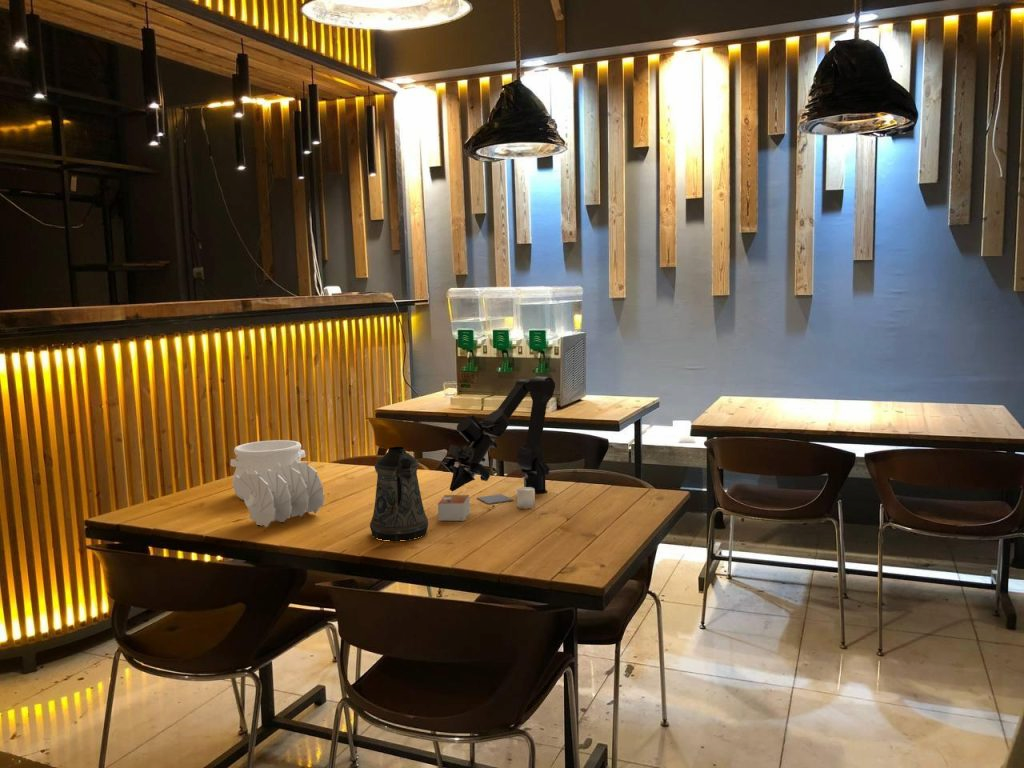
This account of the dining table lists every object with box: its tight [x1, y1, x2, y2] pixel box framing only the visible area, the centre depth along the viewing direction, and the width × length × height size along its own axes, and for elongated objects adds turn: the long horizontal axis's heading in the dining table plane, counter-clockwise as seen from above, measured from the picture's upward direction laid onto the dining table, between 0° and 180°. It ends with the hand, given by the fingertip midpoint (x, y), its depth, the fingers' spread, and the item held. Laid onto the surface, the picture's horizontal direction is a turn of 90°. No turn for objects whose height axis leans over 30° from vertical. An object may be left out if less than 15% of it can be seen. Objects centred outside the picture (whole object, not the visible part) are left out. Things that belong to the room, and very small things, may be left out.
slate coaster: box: [476, 493, 514, 505], centre depth 272 cm, size 9×9×1 cm
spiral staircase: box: [232, 460, 325, 528], centre depth 253 cm, size 18×18×25 cm
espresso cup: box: [516, 486, 536, 510], centre depth 264 cm, size 6×8×6 cm
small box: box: [437, 494, 471, 522], centre depth 253 cm, size 8×6×10 cm
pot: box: [230, 439, 306, 501], centre depth 286 cm, size 26×24×18 cm
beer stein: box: [369, 446, 429, 541], centre depth 234 cm, size 16×19×25 cm
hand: (451, 490), depth 258 cm, fingers closed
